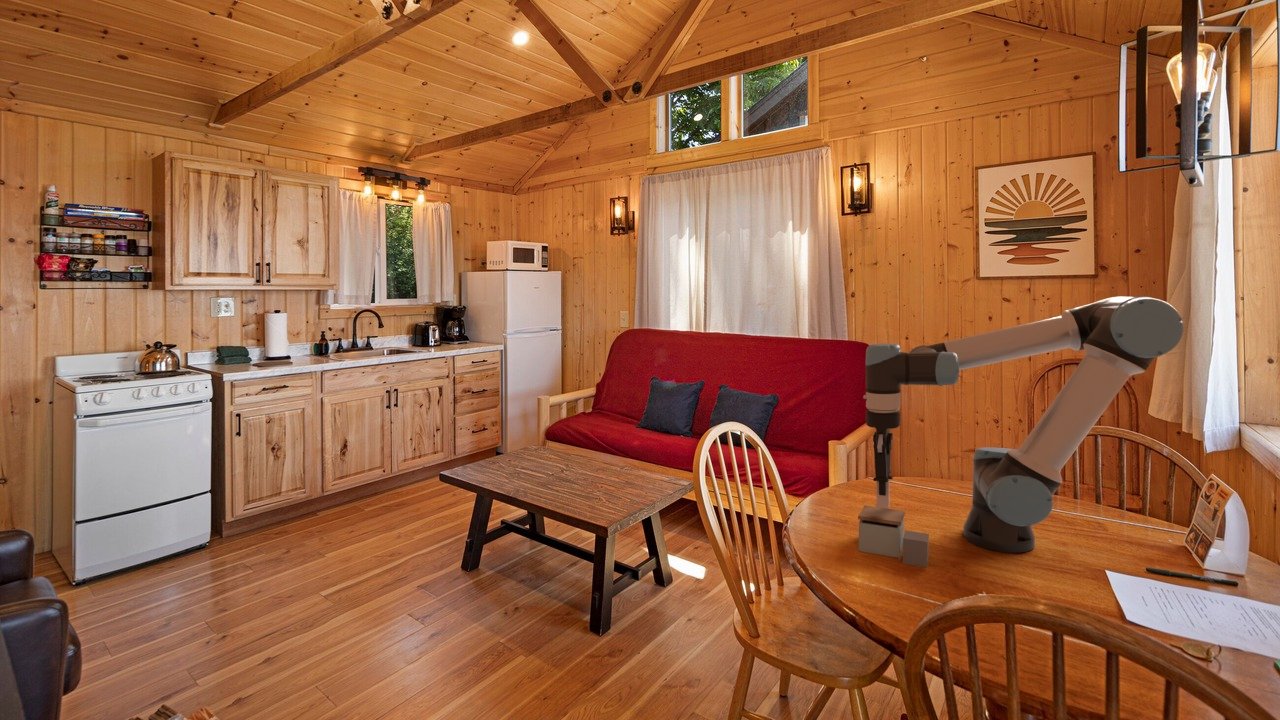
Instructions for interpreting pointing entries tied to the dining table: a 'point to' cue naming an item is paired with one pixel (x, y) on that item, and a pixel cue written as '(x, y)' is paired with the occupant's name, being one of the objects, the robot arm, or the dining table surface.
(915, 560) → the slate block
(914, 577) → the dining table surface
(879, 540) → the box
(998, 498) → the robot arm
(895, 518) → the lid
